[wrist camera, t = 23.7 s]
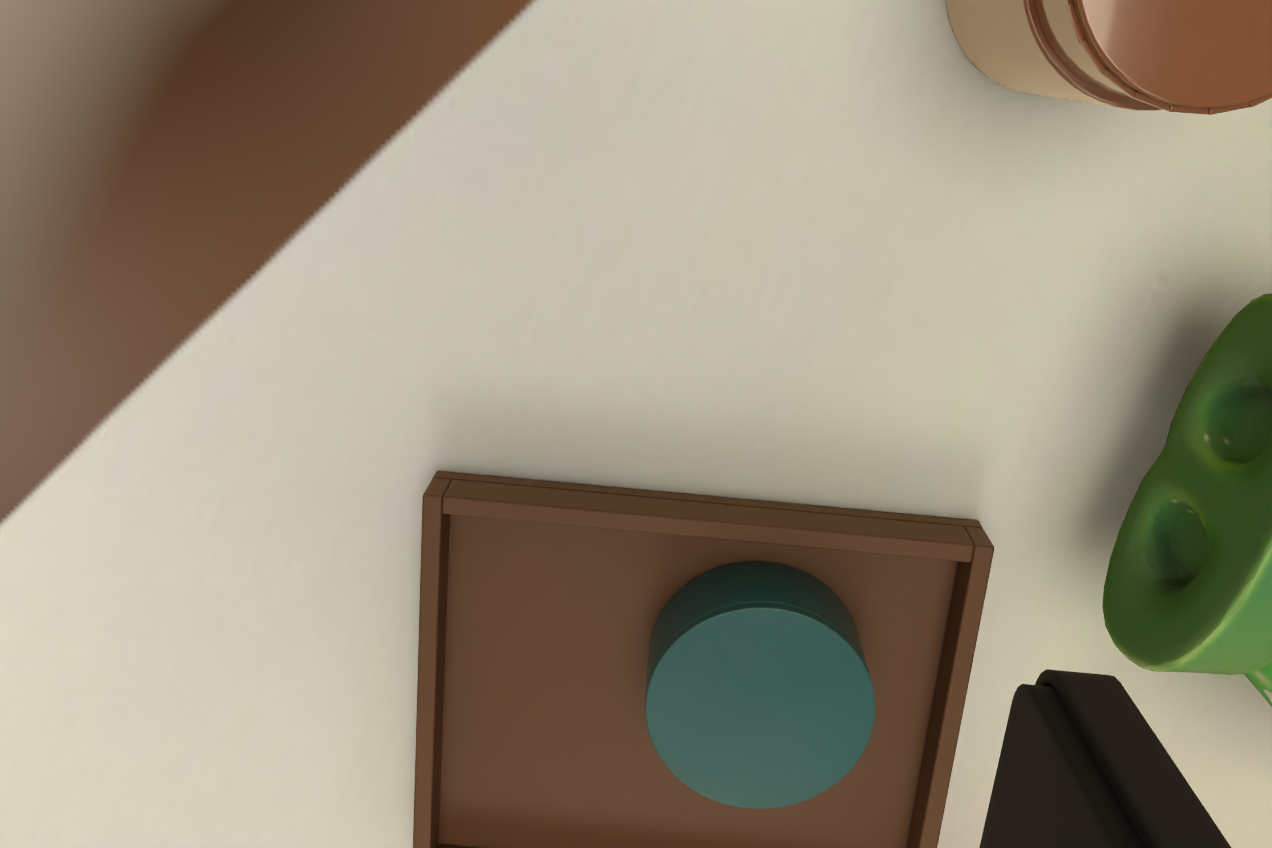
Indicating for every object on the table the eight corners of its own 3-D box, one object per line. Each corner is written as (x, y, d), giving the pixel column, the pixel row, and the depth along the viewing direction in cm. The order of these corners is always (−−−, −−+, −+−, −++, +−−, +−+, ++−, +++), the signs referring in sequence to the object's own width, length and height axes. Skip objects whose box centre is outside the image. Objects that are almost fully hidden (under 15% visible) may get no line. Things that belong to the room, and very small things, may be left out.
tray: (424, 845, 42) (411, 885, 40) (436, 470, 38) (422, 494, 36) (909, 892, 42) (921, 934, 40) (978, 519, 37) (995, 547, 35)
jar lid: (689, 773, 40) (689, 836, 37) (615, 600, 38) (608, 650, 35) (887, 713, 39) (905, 771, 36) (821, 531, 37) (833, 577, 34)
